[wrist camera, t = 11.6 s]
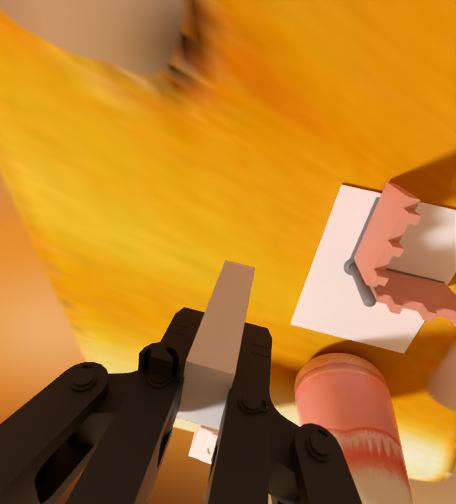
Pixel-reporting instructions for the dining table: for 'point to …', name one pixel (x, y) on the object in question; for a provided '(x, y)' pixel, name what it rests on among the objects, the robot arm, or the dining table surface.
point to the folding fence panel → (417, 296)
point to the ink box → (203, 443)
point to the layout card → (409, 263)
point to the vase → (356, 422)
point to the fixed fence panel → (383, 239)
